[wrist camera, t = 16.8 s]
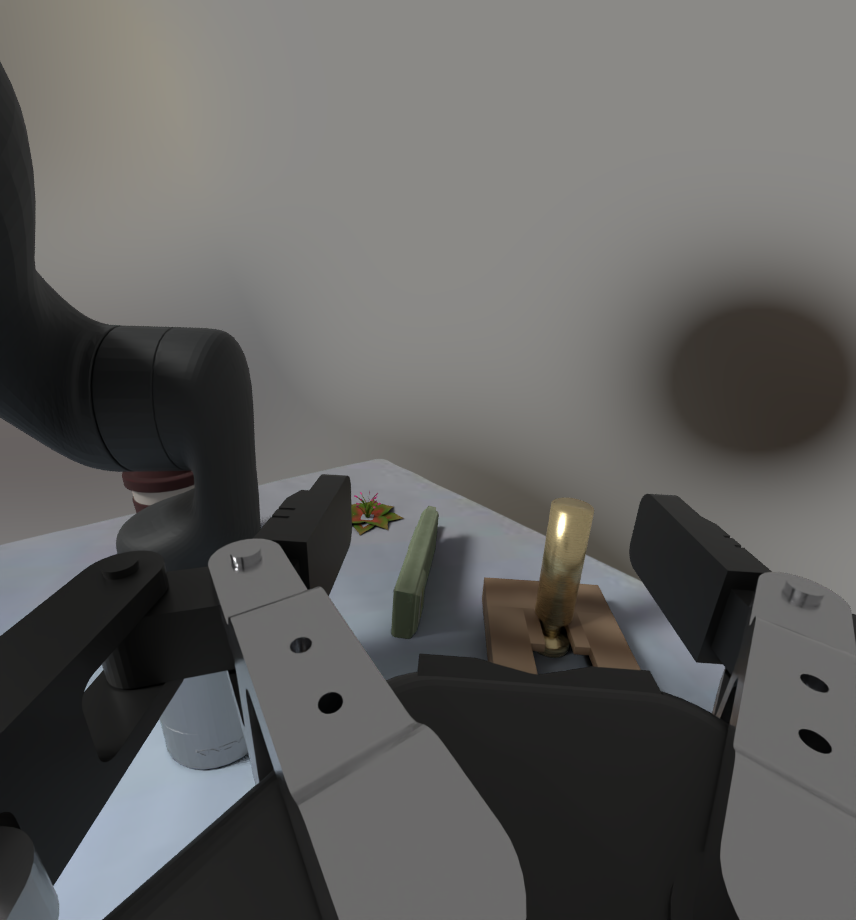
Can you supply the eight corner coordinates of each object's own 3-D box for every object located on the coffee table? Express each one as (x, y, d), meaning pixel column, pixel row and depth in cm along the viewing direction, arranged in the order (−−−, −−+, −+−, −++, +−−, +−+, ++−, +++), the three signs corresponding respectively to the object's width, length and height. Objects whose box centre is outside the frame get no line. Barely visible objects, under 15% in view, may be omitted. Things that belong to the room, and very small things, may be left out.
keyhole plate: (667, 770, 35) (677, 742, 34) (496, 756, 36) (500, 728, 34) (593, 606, 54) (598, 585, 53) (482, 599, 54) (484, 577, 53)
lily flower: (357, 546, 66) (356, 519, 64) (319, 516, 74) (317, 492, 72) (416, 522, 73) (417, 498, 72) (375, 498, 82) (375, 476, 80)
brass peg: (520, 634, 49) (540, 501, 43) (550, 623, 51) (572, 494, 45) (546, 662, 45) (572, 520, 39) (577, 649, 47) (606, 512, 41)
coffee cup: (128, 559, 59) (103, 458, 54) (195, 529, 67) (180, 439, 62) (168, 584, 55) (145, 476, 49) (236, 549, 63) (223, 453, 57)
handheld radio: (386, 637, 48) (423, 528, 71) (415, 643, 48) (442, 531, 71) (389, 589, 46) (426, 491, 69) (419, 594, 45) (446, 494, 68)
